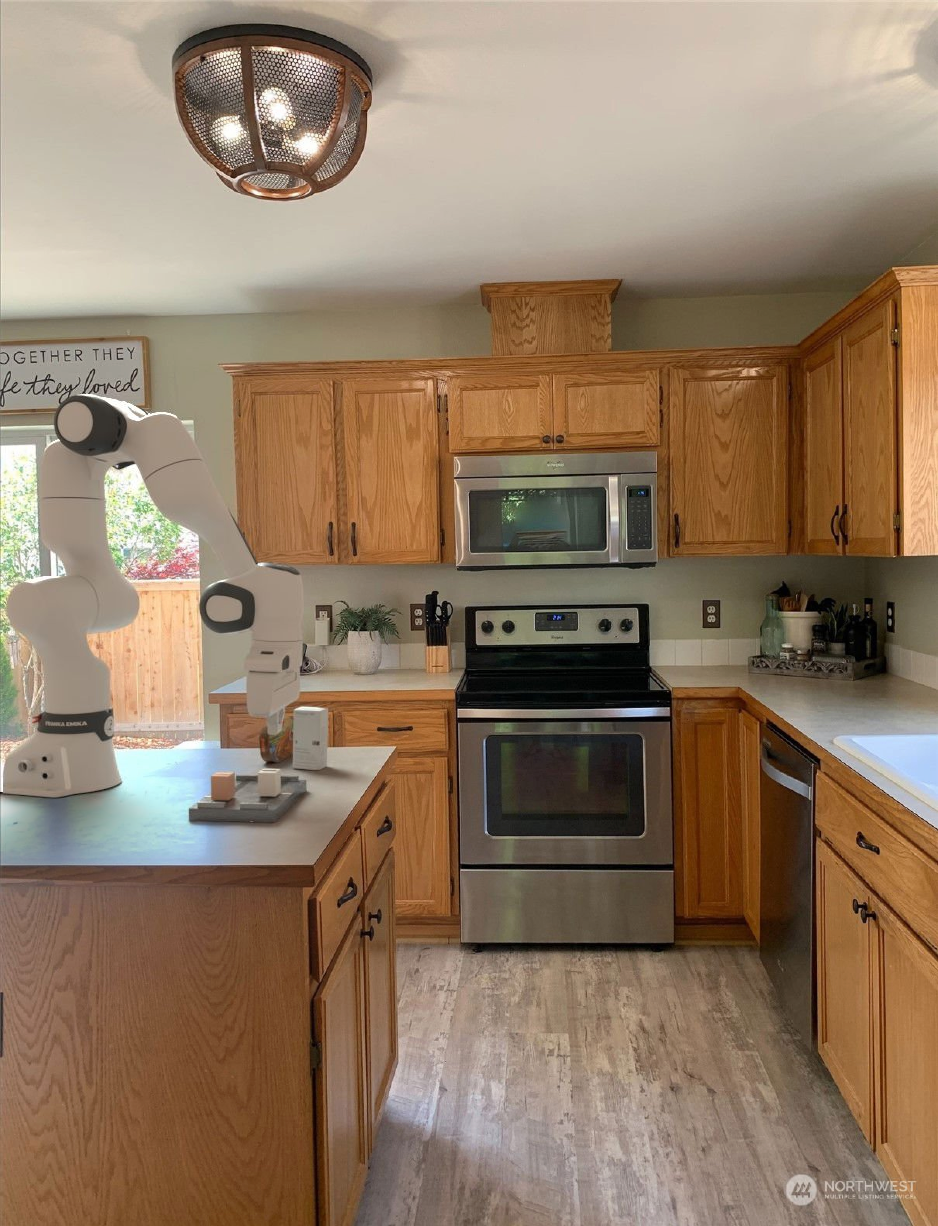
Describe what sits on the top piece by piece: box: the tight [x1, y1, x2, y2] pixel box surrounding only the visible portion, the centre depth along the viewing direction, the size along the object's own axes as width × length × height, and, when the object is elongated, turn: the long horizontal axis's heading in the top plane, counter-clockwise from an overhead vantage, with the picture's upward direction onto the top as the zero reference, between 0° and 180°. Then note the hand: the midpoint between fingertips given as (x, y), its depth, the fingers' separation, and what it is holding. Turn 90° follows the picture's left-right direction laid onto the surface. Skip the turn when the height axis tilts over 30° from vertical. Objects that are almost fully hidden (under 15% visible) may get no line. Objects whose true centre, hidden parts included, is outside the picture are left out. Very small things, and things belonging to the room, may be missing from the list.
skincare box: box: [292, 706, 329, 771], centre depth 181 cm, size 6×4×12 cm
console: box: [188, 774, 307, 824], centre depth 154 cm, size 14×20×3 cm
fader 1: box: [210, 771, 236, 800], centre depth 150 cm, size 3×3×4 cm
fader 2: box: [257, 768, 282, 797], centre depth 152 cm, size 3×3×4 cm
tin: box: [258, 715, 294, 764], centre depth 190 cm, size 15×3×8 cm, turn 168°
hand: (274, 733), depth 158 cm, fingers closed
